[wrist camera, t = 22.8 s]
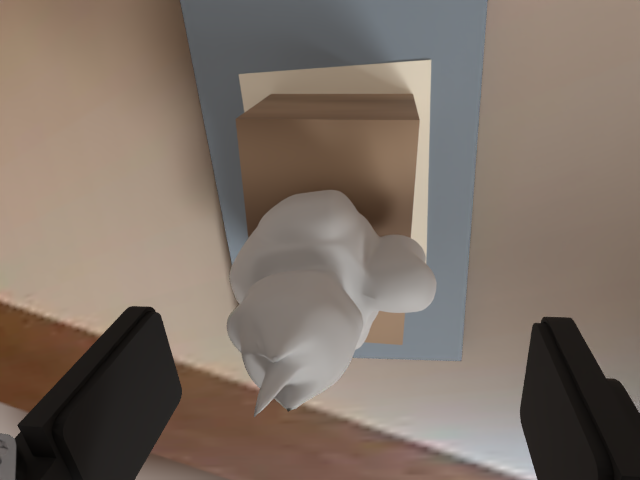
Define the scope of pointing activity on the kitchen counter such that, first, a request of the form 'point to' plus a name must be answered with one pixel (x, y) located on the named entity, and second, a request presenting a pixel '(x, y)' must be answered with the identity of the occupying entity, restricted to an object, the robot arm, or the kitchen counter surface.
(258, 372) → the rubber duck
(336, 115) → the walnut block
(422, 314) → the board
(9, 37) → the kitchen counter surface
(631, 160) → the kitchen counter surface
